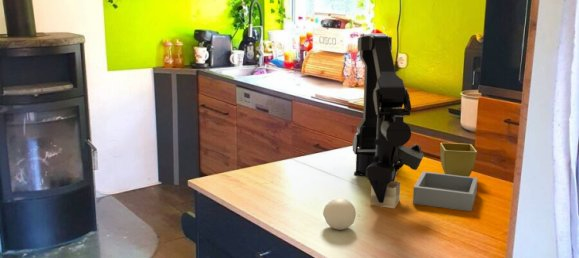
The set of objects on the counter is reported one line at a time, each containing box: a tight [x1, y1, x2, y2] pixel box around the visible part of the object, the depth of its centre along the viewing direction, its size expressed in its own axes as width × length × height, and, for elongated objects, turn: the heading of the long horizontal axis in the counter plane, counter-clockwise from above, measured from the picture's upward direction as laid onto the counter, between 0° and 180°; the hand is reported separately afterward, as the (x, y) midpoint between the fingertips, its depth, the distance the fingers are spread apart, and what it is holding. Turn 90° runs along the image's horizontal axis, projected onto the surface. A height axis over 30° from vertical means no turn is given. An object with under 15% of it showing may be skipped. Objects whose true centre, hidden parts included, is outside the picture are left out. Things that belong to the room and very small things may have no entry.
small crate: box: [370, 180, 401, 209], centre depth 150 cm, size 6×6×5 cm
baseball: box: [322, 198, 357, 230], centre depth 134 cm, size 7×7×7 cm
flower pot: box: [439, 142, 478, 177], centre depth 170 cm, size 9×9×9 cm
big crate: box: [412, 170, 478, 212], centre depth 153 cm, size 14×14×4 cm
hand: (385, 196), depth 150 cm, fingers open, 9 cm apart
